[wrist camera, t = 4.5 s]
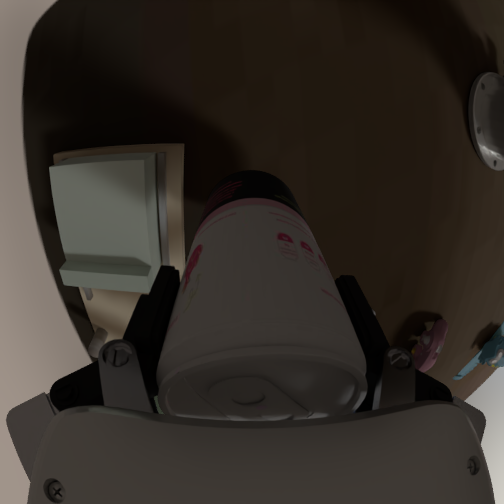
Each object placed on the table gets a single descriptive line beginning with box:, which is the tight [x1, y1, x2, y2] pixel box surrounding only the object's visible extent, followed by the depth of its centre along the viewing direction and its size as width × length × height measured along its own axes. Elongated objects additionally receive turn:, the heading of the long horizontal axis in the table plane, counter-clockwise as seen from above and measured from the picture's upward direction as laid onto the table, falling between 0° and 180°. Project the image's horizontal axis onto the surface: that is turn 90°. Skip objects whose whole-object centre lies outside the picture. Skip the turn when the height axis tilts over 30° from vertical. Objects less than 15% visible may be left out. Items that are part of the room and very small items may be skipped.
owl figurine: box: [453, 322, 504, 380], centre depth 40 cm, size 28×9×15 cm
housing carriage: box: [49, 152, 162, 293], centre depth 19 cm, size 10×8×5 cm
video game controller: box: [411, 319, 448, 372], centre depth 34 cm, size 10×5×7 cm, turn 173°
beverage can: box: [156, 170, 368, 421], centre depth 13 cm, size 6×7×15 cm
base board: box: [53, 144, 185, 358], centre depth 24 cm, size 27×12×5 cm, turn 175°
